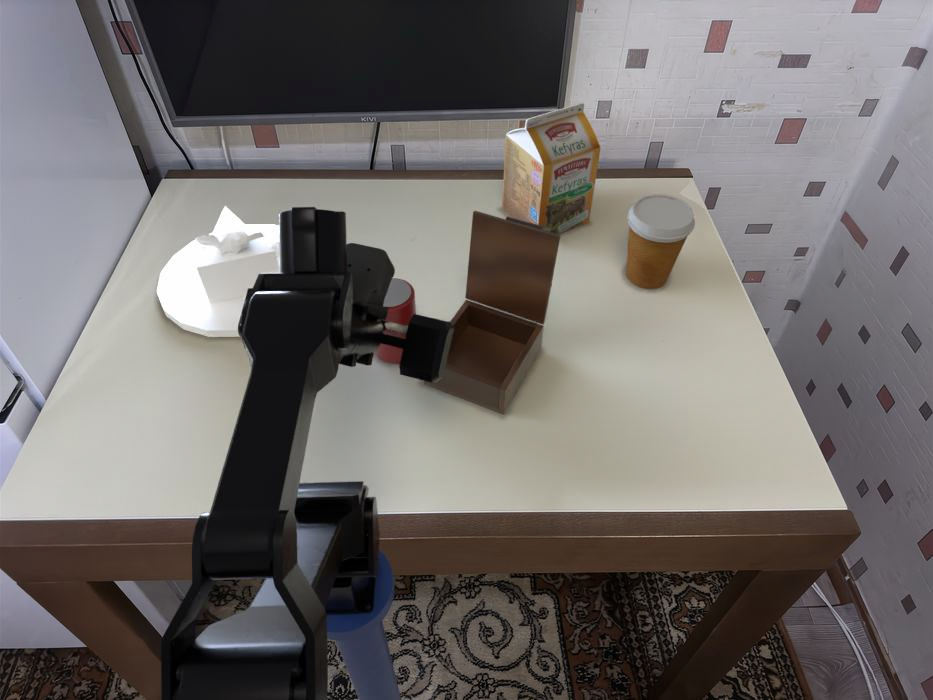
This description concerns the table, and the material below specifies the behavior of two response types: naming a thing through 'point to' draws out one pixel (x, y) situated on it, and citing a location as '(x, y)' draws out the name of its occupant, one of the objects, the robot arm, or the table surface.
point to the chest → (489, 356)
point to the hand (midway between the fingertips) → (387, 333)
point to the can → (397, 315)
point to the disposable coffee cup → (656, 238)
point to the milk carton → (551, 170)
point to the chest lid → (511, 265)
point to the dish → (218, 275)
